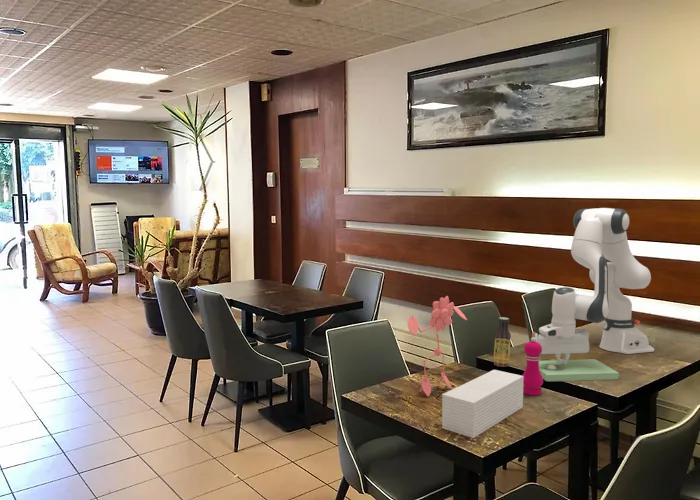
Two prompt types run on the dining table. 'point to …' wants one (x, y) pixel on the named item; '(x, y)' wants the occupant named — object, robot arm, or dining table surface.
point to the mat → (576, 370)
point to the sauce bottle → (502, 344)
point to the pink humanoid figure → (438, 320)
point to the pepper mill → (532, 368)
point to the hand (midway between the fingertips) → (562, 364)
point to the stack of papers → (482, 402)
